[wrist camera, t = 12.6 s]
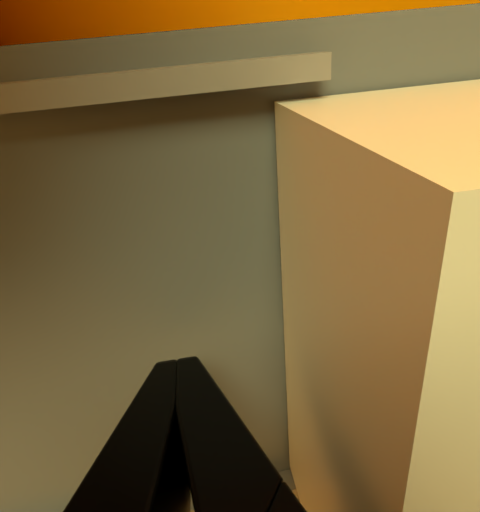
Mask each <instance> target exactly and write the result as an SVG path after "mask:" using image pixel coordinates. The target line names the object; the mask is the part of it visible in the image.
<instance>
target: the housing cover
mask: <svg viewBox="0 0 480 512" xmlns="http://www.w3.org/2000/svg"><path fill="white" fill-rule="evenodd" d="M274 106H275V130H276V153H277V177H278V201H279V225H280V248H281V272H282V296H283V319H284V343H285V367H286V390H287V414H288V438H289V461H290V469H291V472H292V476H293V479H294V483H295V486H296V489H297V493H298V496H299V500H300V503H301V504H302V506H303V507H304V508H305V510H306V511H307V512H480V79H477V80H468V81H459V82H449V83H440V84H431V85H422V86H412V87H403V88H394V89H385V90H375V91H366V92H357V93H348V94H338V95H329V96H320V97H311V98H301V99H292V100H283V101H274Z"/></svg>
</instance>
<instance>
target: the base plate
mask: <svg viewBox="0 0 480 512" xmlns="http://www.w3.org/2000/svg"><path fill="white" fill-rule="evenodd" d="M477 79H480V3H478V4H467V5H456V6H445V7H433V8H422V9H411V10H400V11H388V12H377V13H366V14H355V15H343V16H332V17H321V18H310V19H299V20H287V21H276V22H265V23H254V24H242V25H231V26H220V27H209V28H198V29H186V30H175V31H164V32H153V33H141V34H130V35H119V36H108V37H96V38H85V39H74V40H63V41H52V42H40V43H29V44H18V45H7V46H0V512H63V510H64V509H65V507H66V506H67V504H68V502H69V501H70V499H71V498H72V496H73V495H74V493H75V491H76V490H77V488H78V487H79V485H80V483H81V482H82V480H83V479H84V477H85V475H86V474H87V472H88V471H89V469H90V467H91V466H92V464H93V463H94V461H95V459H96V458H97V456H98V455H99V453H100V451H101V450H102V448H103V447H104V445H105V443H106V442H107V440H108V439H109V437H110V435H111V434H112V432H113V431H114V429H115V427H116V426H117V424H118V423H119V421H120V419H121V418H122V416H123V415H124V413H125V412H126V410H127V408H128V407H129V405H130V404H131V402H132V400H133V399H134V397H135V396H136V394H137V392H138V391H139V389H140V388H141V386H142V384H143V383H144V381H145V380H146V378H147V376H148V375H149V373H150V372H151V370H152V368H153V367H154V365H155V364H156V363H157V362H160V361H167V360H173V359H175V360H178V359H179V358H185V357H191V356H196V357H198V358H199V359H200V361H201V362H202V364H203V365H204V366H205V368H206V369H207V371H208V372H209V374H210V375H211V376H212V378H213V379H214V381H215V382H216V384H217V385H218V386H219V388H220V389H221V391H222V392H223V394H224V395H225V396H226V398H227V399H228V401H229V402H230V404H231V405H232V406H233V408H234V409H235V411H236V412H237V414H238V415H239V416H240V418H241V419H242V421H243V422H244V424H245V425H246V426H247V428H248V429H249V431H250V432H251V434H252V435H253V436H254V438H255V439H256V441H257V442H258V443H259V445H260V446H261V448H262V449H263V451H264V452H265V453H266V455H267V456H268V458H269V459H270V461H271V462H272V463H273V465H274V466H275V468H276V469H277V471H278V472H279V473H280V475H281V476H282V478H283V482H286V483H287V484H288V486H289V487H290V489H291V490H292V492H293V493H294V494H295V496H296V497H297V499H298V500H299V496H298V493H297V489H296V486H295V483H294V479H293V476H292V472H291V469H290V461H289V438H288V414H287V390H286V367H285V343H284V319H283V296H282V272H281V248H280V225H279V201H278V177H277V153H276V130H275V106H274V101H283V100H292V99H301V98H311V97H320V96H329V95H338V94H348V93H357V92H366V91H375V90H385V89H394V88H403V87H412V86H422V85H431V84H440V83H449V82H459V81H468V80H477ZM299 502H300V500H299ZM190 512H194V507H193V502H192V496H191V504H190Z"/></svg>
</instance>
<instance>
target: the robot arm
mask: <svg viewBox="0 0 480 512" xmlns="http://www.w3.org/2000/svg"><path fill="white" fill-rule="evenodd" d="M191 496H192V502H193V507H194V512H307V511H306V510H305V508H304V507H303V506H302V504H301V503H300V502H299V500H298V499H297V497H296V496H295V494H294V493H293V492H292V490H291V489H290V487H289V486H288V484H287V483H286V482H283V478H282V476H281V475H280V473H279V472H278V471H277V469H276V468H275V466H274V465H273V463H272V462H271V461H270V459H269V458H268V456H267V455H266V453H265V452H264V451H263V449H262V448H261V446H260V445H259V443H258V442H257V441H256V439H255V438H254V436H253V435H252V434H251V432H250V431H249V429H248V428H247V426H246V425H245V424H244V422H243V421H242V419H241V418H240V416H239V415H238V414H237V412H236V411H235V409H234V408H233V406H232V405H231V404H230V402H229V401H228V399H227V398H226V396H225V395H224V394H223V392H222V391H221V389H220V388H219V386H218V385H217V384H216V382H215V381H214V379H213V378H212V376H211V375H210V374H209V372H208V371H207V369H206V368H205V366H204V365H203V364H202V362H201V361H200V359H199V358H198V357H196V356H191V357H185V358H179V359H178V360H175V359H173V360H167V361H160V362H157V363H156V364H155V365H154V367H153V368H152V370H151V372H150V373H149V375H148V376H147V378H146V380H145V381H144V383H143V384H142V386H141V388H140V389H139V391H138V392H137V394H136V396H135V397H134V399H133V400H132V402H131V404H130V405H129V407H128V408H127V410H126V412H125V413H124V415H123V416H122V418H121V419H120V421H119V423H118V424H117V426H116V427H115V429H114V431H113V432H112V434H111V435H110V437H109V439H108V440H107V442H106V443H105V445H104V447H103V448H102V450H101V451H100V453H99V455H98V456H97V458H96V459H95V461H94V463H93V464H92V466H91V467H90V469H89V471H88V472H87V474H86V475H85V477H84V479H83V480H82V482H81V483H80V485H79V487H78V488H77V490H76V491H75V493H74V495H73V496H72V498H71V499H70V501H69V502H68V504H67V506H66V507H65V509H64V510H63V512H190V504H191Z"/></svg>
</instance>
